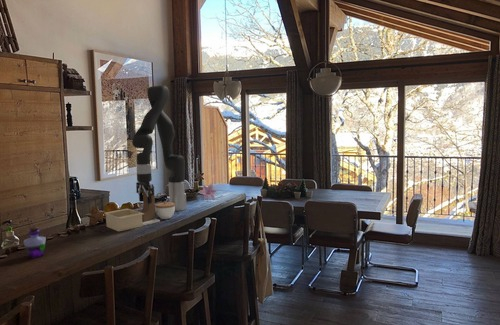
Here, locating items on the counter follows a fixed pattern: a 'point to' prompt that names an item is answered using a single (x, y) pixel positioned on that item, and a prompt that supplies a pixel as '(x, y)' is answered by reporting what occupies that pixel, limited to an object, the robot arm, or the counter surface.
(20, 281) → the counter surface
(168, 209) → the lidded jar
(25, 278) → the counter surface
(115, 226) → the carton
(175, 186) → the robot arm
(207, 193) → the lily
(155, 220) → the grey tile
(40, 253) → the potion bottle
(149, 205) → the wooden block
